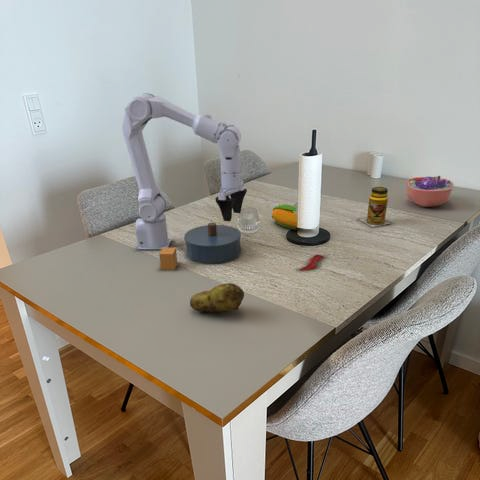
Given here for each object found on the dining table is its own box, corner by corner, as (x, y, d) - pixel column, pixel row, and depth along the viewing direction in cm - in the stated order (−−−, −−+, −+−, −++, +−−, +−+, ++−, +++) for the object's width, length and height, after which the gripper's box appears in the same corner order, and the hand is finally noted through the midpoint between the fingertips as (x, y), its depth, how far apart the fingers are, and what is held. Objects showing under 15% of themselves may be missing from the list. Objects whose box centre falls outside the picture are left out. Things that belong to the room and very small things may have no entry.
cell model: (454, 200, 182) (461, 171, 176) (443, 215, 168) (449, 184, 162) (410, 194, 190) (415, 166, 184) (396, 208, 175) (400, 178, 170)
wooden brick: (161, 269, 135) (159, 253, 132) (164, 263, 139) (162, 247, 136) (174, 269, 135) (173, 253, 132) (177, 263, 139) (175, 247, 136)
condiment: (373, 227, 159) (377, 192, 153) (358, 219, 166) (362, 186, 160) (390, 224, 162) (395, 189, 156) (375, 216, 168) (379, 183, 162)
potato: (206, 298, 120) (204, 270, 115) (249, 311, 114) (248, 282, 109) (186, 313, 114) (183, 283, 110) (230, 327, 108) (229, 297, 104)
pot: (183, 263, 138) (181, 246, 135) (191, 242, 152) (190, 226, 149) (238, 264, 137) (237, 246, 134) (241, 242, 151) (241, 226, 148)
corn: (280, 197, 165) (325, 210, 152) (281, 218, 169) (325, 232, 156) (266, 204, 161) (311, 217, 148) (267, 224, 165) (310, 239, 153)
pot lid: (180, 249, 135) (178, 234, 133) (189, 228, 150) (188, 214, 148) (239, 249, 134) (238, 234, 132) (242, 228, 149) (242, 214, 146)
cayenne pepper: (305, 272, 131) (305, 266, 130) (292, 267, 134) (293, 261, 133) (332, 260, 138) (332, 254, 137) (320, 255, 141) (320, 249, 140)
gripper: (233, 178, 128) (235, 226, 135) (252, 166, 139) (252, 210, 147) (210, 176, 130) (213, 223, 138) (230, 164, 142) (232, 208, 149)
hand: (232, 216), depth 142 cm, fingers open, 7 cm apart
